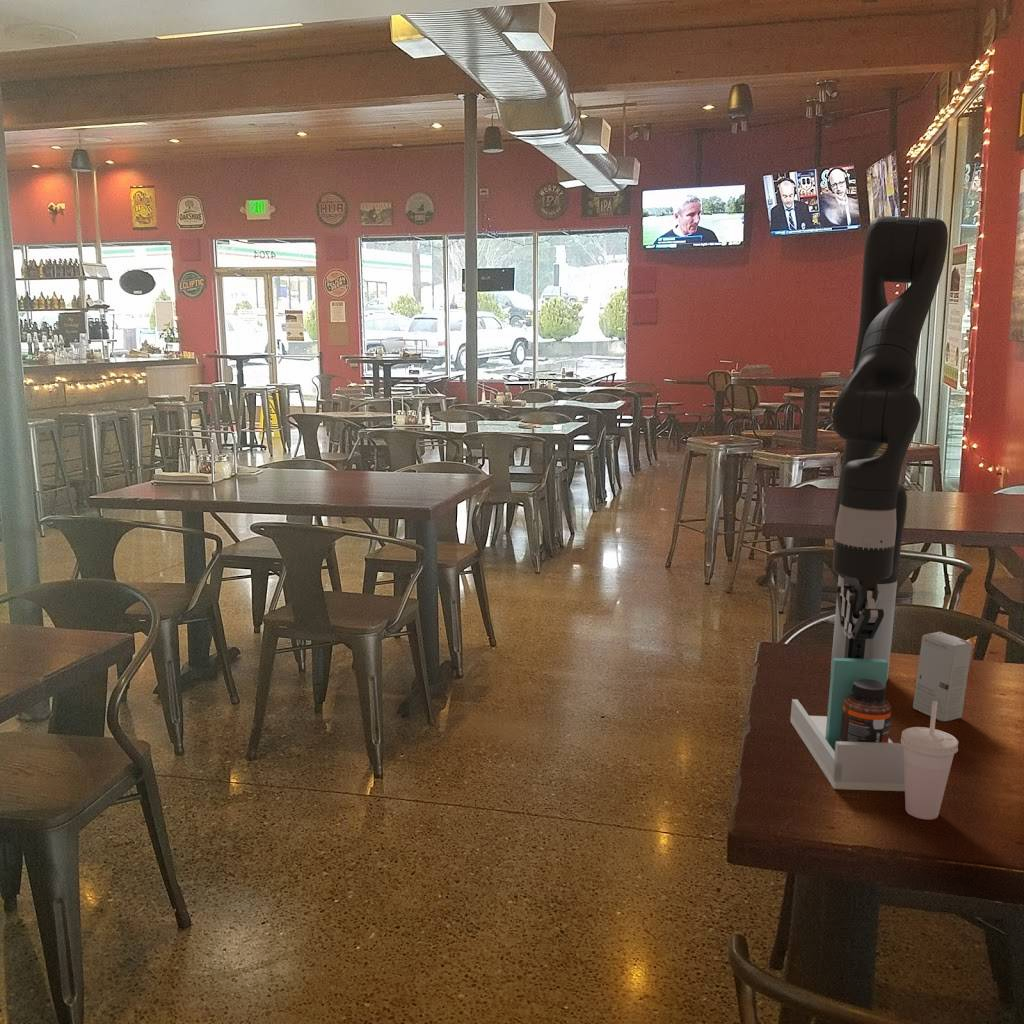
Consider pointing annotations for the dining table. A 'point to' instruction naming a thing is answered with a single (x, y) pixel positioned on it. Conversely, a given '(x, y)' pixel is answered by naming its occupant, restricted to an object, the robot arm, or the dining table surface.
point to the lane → (850, 756)
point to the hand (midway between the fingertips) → (853, 663)
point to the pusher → (848, 688)
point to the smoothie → (926, 767)
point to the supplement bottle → (866, 713)
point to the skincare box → (942, 675)
